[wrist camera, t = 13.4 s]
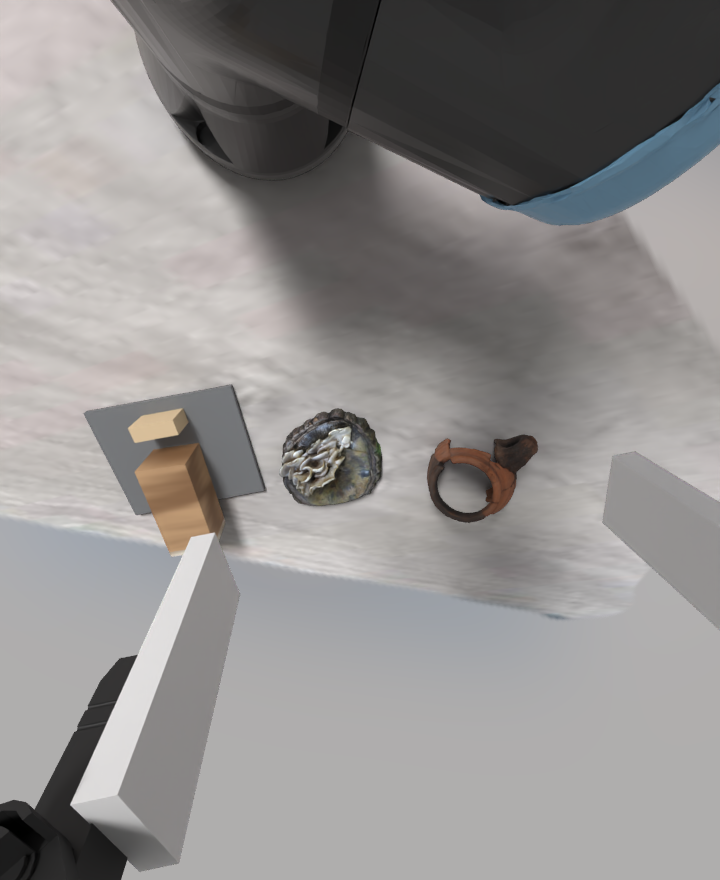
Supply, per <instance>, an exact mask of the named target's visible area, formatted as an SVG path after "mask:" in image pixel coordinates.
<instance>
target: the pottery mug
mask: <svg viewBox="0 0 720 880" xmlns="http://www.w3.org/2000/svg"><path fill="white" fill-rule="evenodd" d="M450 442H451V440H450V439H446V440H444V441H443V442H441V443H440V444H439V445H438V446H437V448H436V449H435V454H433V455H432V456H431V459H430V462H429V466H428V472H427V481H428V486H429V491H430V496H431V499H432V501H433V502H434V504H435V506H436V507H437V508H438V509H439V510H440V511H441V512H442V513H443V514H445V515H446V516H447V517H450V518H452V519H454V520H457V521H459V522H460V521H461V522H468V523H470V522H475V521H479V520H482V519H484V518H485V517H486V516H488V515H490V514H495V513H497V512H498V511H500V510H501V509H502V508H504V507H505V505H506V504H507V503H508V502H509V500H510V499H511V497H512V495H513V493H514V489H515V487H516V479H517V475H516V472H517V471H518V470H519V469H520V468H521V467H523V466H524V465H525V464H526V463H527V462H528V461H529V459H530V458H531V457H532V456H533V455H534V454H535V453H537V450H538V445H537V441H536V439H535V438H534V437H533V436H528V435H519V436H516V437H513V438H511V439H508V440H501V439H495V440H494V443H495V444H496V447H495V449H494V452H495V453H494V455H495V459H496V461H497V462H498V463H494V462H492V461H491V460H490V458H491V454H489V453H486V452H483V451H479V450H476V449H468V448H451V449H450ZM449 460H451V461H452V463H453V464H456V463H466V464H470V465H473V466H475V467H477V468H479V469H480V470H482V471H483V472H485V473H486V475H487V476H488V478H489V479H490V482H491V484H492V488H490V489H487V490H486V494H487V497H486V501H487V502H490V503H489V504H488V505H487V506H486V507H485V508H483V509H482V510H480V511H478V512H474V513H463V512H459V511H456V510H454V509H452V508H451V507H449V506H448V505H447V504H446V503H445V502H444V501H443V500H442V498H441V497H440V495H439V492H438V488H437V480H438V477H439V475H440V473H441V472H442V470H443V469H444V463H445V462H447V461H449Z"/></svg>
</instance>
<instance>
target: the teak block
mask: <svg viewBox="0 0 720 880" xmlns="http://www.w3.org/2000/svg"><path fill="white" fill-rule="evenodd" d="M135 475H136V477H137V479H138V481H139V484H140V486H141V488H142V491H143V493H144V495H145V497H146V500H147V502H148V504H149V507H150V509H151V511H152V514H153V516H154V518H155V520H156V523H157V525H158V527H159V530H160V532H161V534H162V537H163V539H164V541H165V543H166V546H167V548H168V550H169V553H170V555H171V557H172V556H179V555H183V554H184V552H185V550H186V547H187V545H188V543H189V541H190V538H191V537H194V536H199V535H204V534H210V533H215V534H216V536H217V539H218V541H219V540H220V537H221V534H222V531H223V528H224V525H225V519H224V516H223V513H222V510H221V507H220V504H219V501H218V498H217V495H216V492H215V489H214V486H213V483H212V480H211V477H210V475H209V472H208V469H207V466H206V463H205V460H204V457H203V454H202V451H201V448H200V445H199V443H194V444H187V445H181V446H174V447H167V448H160V449H154V450H153V451H152V452H151V453H150V454H149V455H148V457H147V458H146V459H145V460H144V461H143V462H142V464H141V465H140V466H139V467H138V468H137V469H136V471H135Z"/></svg>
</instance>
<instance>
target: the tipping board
mask: <svg viewBox="0 0 720 880" xmlns="http://www.w3.org/2000/svg"><path fill="white" fill-rule="evenodd" d="M84 415H85V417H86V419H87V421H88V423H89V425H90V427H91V429H92V431H93V433H94V435H95V437H96V439H97V441H98V443H99V445H100V446H101V448H102V450H103V452H104V454H105V456H106V458H107V460H108V462H109V464H110V466H111V468H112V470H113V472H114V474H115V476H116V478H117V479H118V481H119V483H120V485H121V487H122V489H123V491H124V493H125V495H126V497H127V499H128V501H129V503H130V505H131V507H132V509H133V511H134V512H135V514H136V515H140V514H145V513H150V512H152V511H151V509H150V507H149V504H148V502H147V500H146V497H145V495H144V493H143V491H142V488H141V486H140V484H139V481H138V479H137V477H136V475H135V471H136V469H137V468H138V467H139V466H140V465H141V464H142V462H143V461H144V460H145V459H146V458H147V457H148V455H149V454H150V453H151V452H152V451H153V450H154V449H160V448H167V447H174V446H181V445H187V444H194V443H199V445H200V448H201V451H202V454H203V457H204V460H205V463H206V466H207V469H208V472H209V475H210V477H211V480H212V483H213V486H214V489H215V492H216V495H217V498H218V499H223V498H229V497H234V496H239V495H244V494H250V493H255V492H260V491H264V489H265V487H264V484H263V481H262V478H261V475H260V471H259V468H258V465H257V462H256V459H255V456H254V453H253V449H252V446H251V443H250V440H249V437H248V434H247V431H246V428H245V424H244V421H243V418H242V415H241V412H240V409H239V406H238V402H237V399H236V396H235V393H234V390H233V387H232V385H227V386H221V387H216V388H210V389H205V390H199V391H194V392H188V393H183V394H177V395H172V396H167V397H161V398H156V399H150V400H145V401H139V402H134V403H128V404H123V405H117V406H112V407H107V408H101V409H96V410H90V411H86V412H85V413H84Z"/></svg>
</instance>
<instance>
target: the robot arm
mask: <svg viewBox="0 0 720 880" xmlns="http://www.w3.org/2000/svg"><path fill="white" fill-rule="evenodd" d="M110 1H111V2H112V3H113V4H114V5H115V7H116V8H117V9H118V10H119V12H120V13H121V14H122V15H123V17H124V18H125V19H126V20H127V22H128V23H129V24H130V25H131V27H132V28H133V29H134V31H135V35H136V40H137V44H138V48H139V51H140V55H141V58H142V61H143V64H144V66H145V69H146V71H147V74H148V76H149V79H150V81H151V83H152V85H153V87H154V89H155V91H156V93H157V95H158V97H159V99H160V100H161V102H162V104H163V105H164V107H165V109H166V110H167V112H168V113H169V115H170V116H171V118H172V119H173V120H174V121H175V123H176V124H177V125H178V127H179V128H180V129H181V130H182V131H183V132H184V134H185V135H186V136H187V137H188V138H189V139H190V140H191V141H192V142H193V143H194V144H195V145H196V146H197V147H198V148H200V149H201V150H202V151H203V152H204V153H205V154H206V155H208V156H209V157H210V158H211V159H213V160H214V161H216V162H217V163H219V164H220V165H222V166H224V167H225V168H227V169H229V170H231V171H233V172H235V173H238V174H240V175H243V176H247V177H250V178H255V179H261V180H282V179H288V178H292V177H295V176H299V175H301V174H303V173H306V172H308V171H310V170H311V169H313V168H315V167H316V166H318V165H319V164H320V163H322V162H323V161H324V160H325V159H326V158H328V157H329V156H330V155H331V154H332V152H333V151H334V150H335V149H336V148H337V147H338V145H339V144H340V143H341V141H342V140H343V138H344V137H345V135H346V133H347V132H348V130H349V131H351V132H353V133H355V134H357V135H359V136H361V137H363V138H365V139H367V140H369V141H371V142H373V143H375V144H377V145H379V146H381V147H383V148H385V149H387V150H389V151H392V152H394V153H396V154H398V155H400V156H402V157H404V158H406V159H408V160H410V161H412V162H414V163H416V164H418V165H420V166H422V167H424V168H426V169H428V170H430V171H432V172H434V173H436V174H439V175H441V176H443V177H445V178H447V179H449V180H451V181H453V182H455V183H457V184H459V185H461V186H463V187H465V188H467V189H469V190H471V191H473V192H475V193H477V194H479V195H480V197H481V199H482V200H483V201H484V202H486V203H488V204H489V205H491V206H494V207H496V208H498V209H503V210H513V211H517V212H520V213H522V214H524V215H527V216H529V217H531V218H534V219H536V220H539V221H541V222H544V223H547V224H551V225H559V226H560V225H580V224H586V223H591V222H594V221H597V220H600V219H603V218H606V217H609V216H612V215H614V214H616V213H619V212H621V211H623V210H625V209H627V208H629V207H631V206H633V205H635V204H637V203H639V202H641V201H642V200H644V199H646V198H647V197H649V196H651V195H652V194H654V193H656V192H657V191H659V190H660V189H662V188H663V187H664V186H666V185H668V184H669V183H671V182H672V181H673V180H675V179H676V178H678V177H679V176H680V175H682V174H683V173H685V172H686V171H687V170H688V169H690V168H691V167H692V166H694V165H695V164H696V163H698V162H699V161H700V160H701V159H703V158H704V157H705V156H706V155H708V154H709V153H710V152H711V151H712V150H714V149H715V148H716V147H717V146H718V145H719V144H720V0H110ZM602 523H603V524H604V525H606V526H607V527H608V528H609V529H610V530H611V531H612V532H613V533H614V534H615V535H616V536H618V537H619V538H620V539H621V540H622V541H623V542H624V543H625V544H626V545H627V546H628V547H630V548H631V549H632V550H633V551H634V552H635V553H636V554H637V555H638V556H639V557H640V558H642V559H643V560H644V561H645V562H646V563H647V564H648V565H649V566H650V567H651V568H652V569H653V570H655V571H656V572H657V573H658V574H659V575H660V576H661V577H662V578H663V579H664V580H665V581H667V582H668V583H669V584H670V585H671V586H672V587H673V588H674V589H675V590H676V591H677V592H679V593H680V594H681V595H682V596H683V597H684V598H685V599H686V600H687V601H688V602H689V603H691V604H692V605H693V606H694V607H695V608H696V609H697V610H698V611H699V612H700V613H701V614H702V615H704V616H705V617H706V618H707V619H708V620H709V621H710V622H711V623H712V624H713V625H714V626H716V627H717V628H718V629H719V630H720V502H718V501H717V500H715V499H713V498H712V497H710V496H708V495H707V494H705V493H703V492H702V491H700V490H698V489H697V488H695V487H693V486H692V485H690V484H688V483H687V482H685V481H683V480H682V479H680V478H678V477H677V476H675V475H673V474H672V473H670V472H668V471H667V470H665V469H663V468H662V467H660V466H658V465H657V464H655V463H653V462H652V461H650V460H648V459H647V458H645V457H643V456H642V455H640V454H638V453H637V452H630V453H625V454H619V455H614V456H612V462H611V469H610V476H609V482H608V489H607V495H606V502H605V508H604V515H603V521H602ZM239 597H240V592H239V589H238V587H237V585H236V582H235V580H234V577H233V575H232V573H231V570H230V568H229V565H228V563H227V560H226V558H225V556H224V553H223V551H222V548H221V546H220V543H219V541H218V539H217V536H216V534H215V533H210V534H204V535H199V536H194V537H191V538H190V541H189V543H188V545H187V547H186V550H185V552H184V554H183V556H182V559H181V561H180V563H179V565H178V567H177V569H176V572H175V574H174V576H173V578H172V580H171V583H170V585H169V587H168V589H167V592H166V594H165V596H164V598H163V601H162V603H161V605H160V607H159V609H158V612H157V614H156V616H155V618H154V621H153V623H152V625H151V627H150V629H149V632H148V634H147V636H146V638H145V640H144V642H143V645H142V647H141V649H140V651H139V654H138V655H135V656H130V657H125V658H121V659H119V660H118V661H117V662H116V663H115V665H114V666H113V667H112V668H111V669H110V670H109V672H108V673H107V674H106V675H105V676H104V677H103V679H102V680H101V681H100V683H99V685H98V687H97V689H96V691H95V693H94V695H93V697H92V699H91V701H90V703H89V705H88V710H86V711H85V712H84V714H83V716H82V718H81V720H80V722H79V724H78V726H77V727H78V729H77V731H76V732H74V734H73V736H72V738H71V740H70V742H69V744H68V746H67V747H66V749H65V751H64V753H63V755H62V757H61V759H60V761H59V763H58V765H57V767H56V769H55V771H54V773H53V775H52V777H51V779H50V781H49V783H48V785H47V786H46V788H45V790H44V793H43V794H42V796H41V798H40V800H39V802H38V804H37V806H36V808H35V810H34V809H33V808H32V807H31V806H30V805H28V804H27V803H26V802H22V801H17V800H12V801H9V802H6V803H3V804H0V880H121V878H122V875H123V871H124V868H125V865H126V862H127V860H128V861H129V862H130V863H131V864H132V865H133V866H134V867H135V868H136V869H137V870H138V871H139V872H141V871H145V870H150V869H155V868H159V867H163V866H168V865H174V864H178V863H179V861H180V856H181V852H182V848H183V843H184V839H185V834H186V830H187V825H188V821H189V817H190V812H191V808H192V804H193V799H194V795H195V791H196V786H197V782H198V777H199V773H200V769H201V764H202V759H203V755H204V751H205V746H206V742H207V738H208V733H209V729H210V725H211V720H212V716H213V711H214V707H215V703H216V698H217V694H218V690H219V685H220V681H221V676H222V672H223V667H224V663H225V659H226V654H227V650H228V646H229V641H230V636H231V632H232V628H233V624H234V619H235V614H236V610H237V606H238V601H239Z"/></svg>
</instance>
